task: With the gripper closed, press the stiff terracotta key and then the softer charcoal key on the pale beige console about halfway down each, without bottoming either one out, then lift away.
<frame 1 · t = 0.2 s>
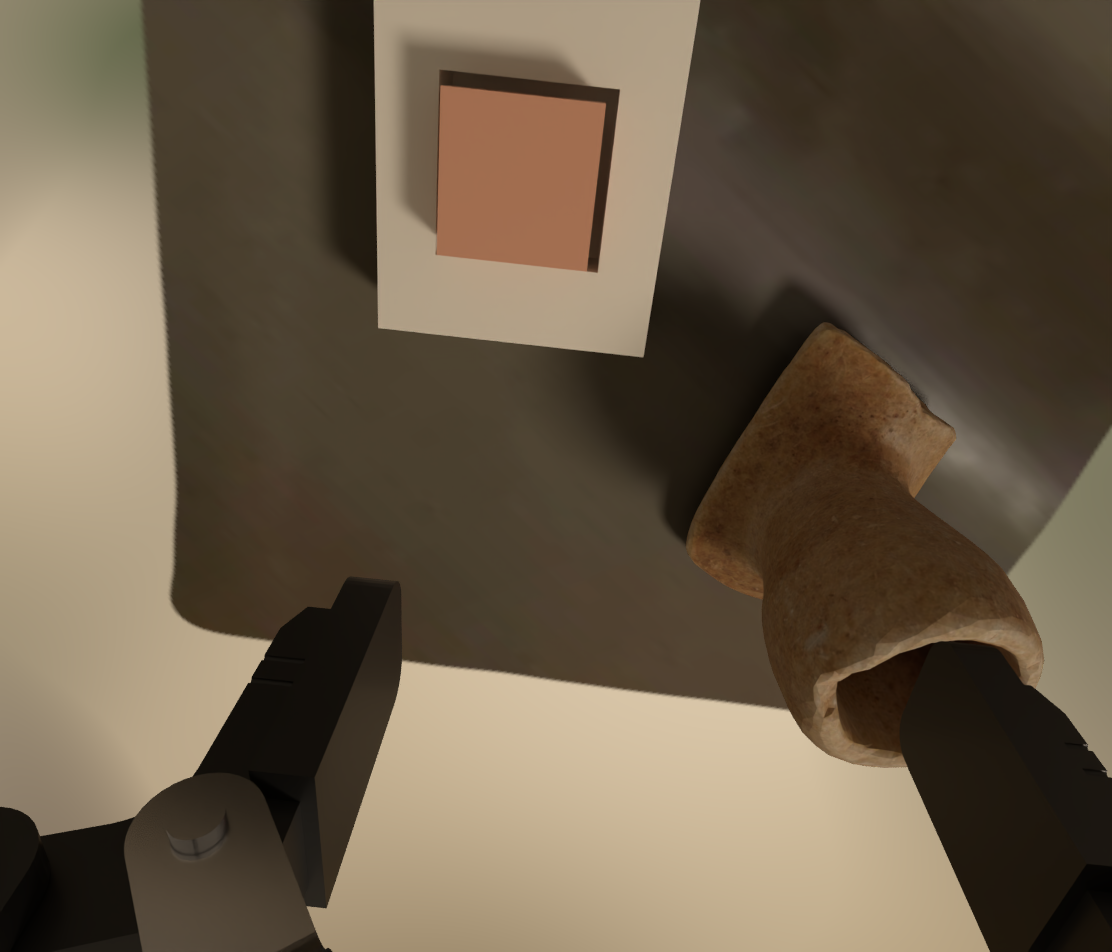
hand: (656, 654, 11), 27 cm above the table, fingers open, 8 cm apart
terracotta key: (520, 178, 30), point 5 cm above the table, slide at 0.0 cm
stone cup: (820, 477, 41), on the table
key console: (542, 12, 31), on the table
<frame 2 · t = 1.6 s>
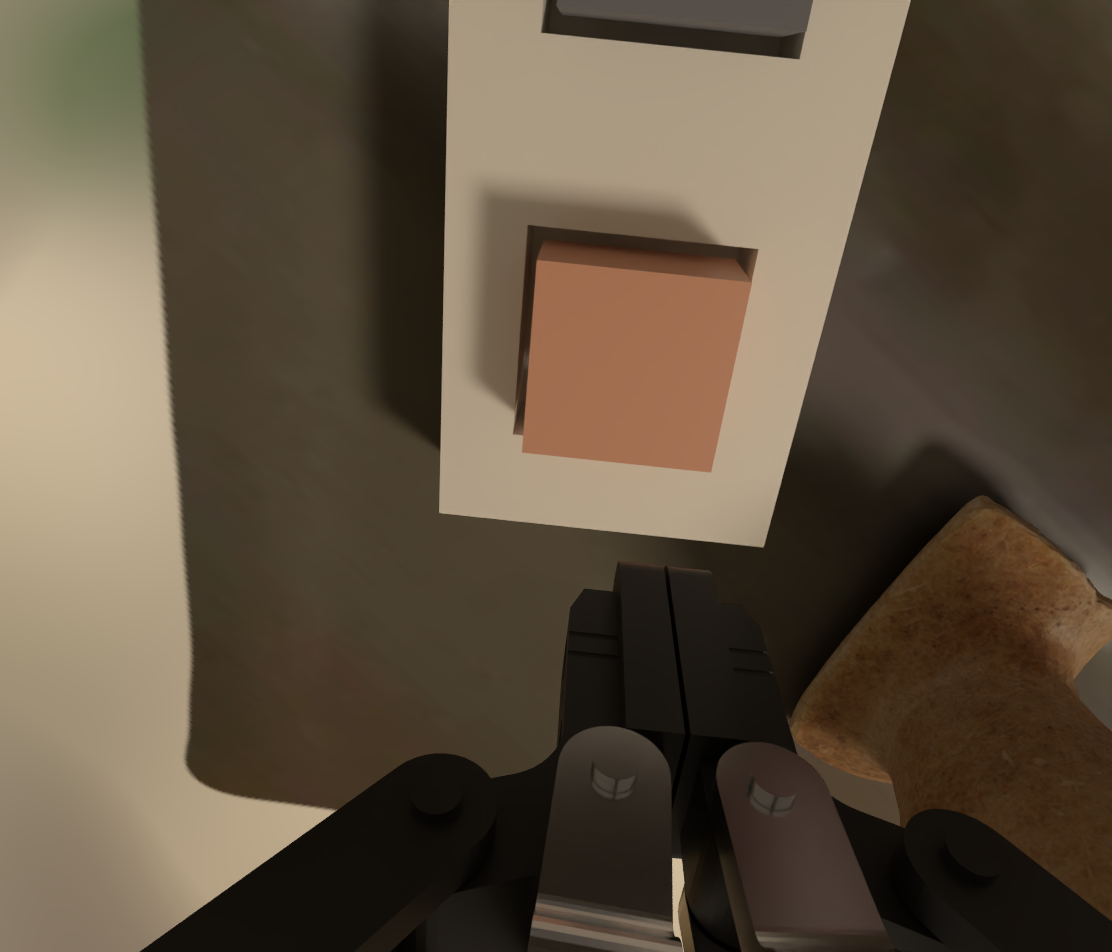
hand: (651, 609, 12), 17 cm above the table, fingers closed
terracotta key: (627, 356, 23), point 5 cm above the table, slide at 0.0 cm
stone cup: (949, 646, 34), on the table
key console: (648, 136, 25), on the table
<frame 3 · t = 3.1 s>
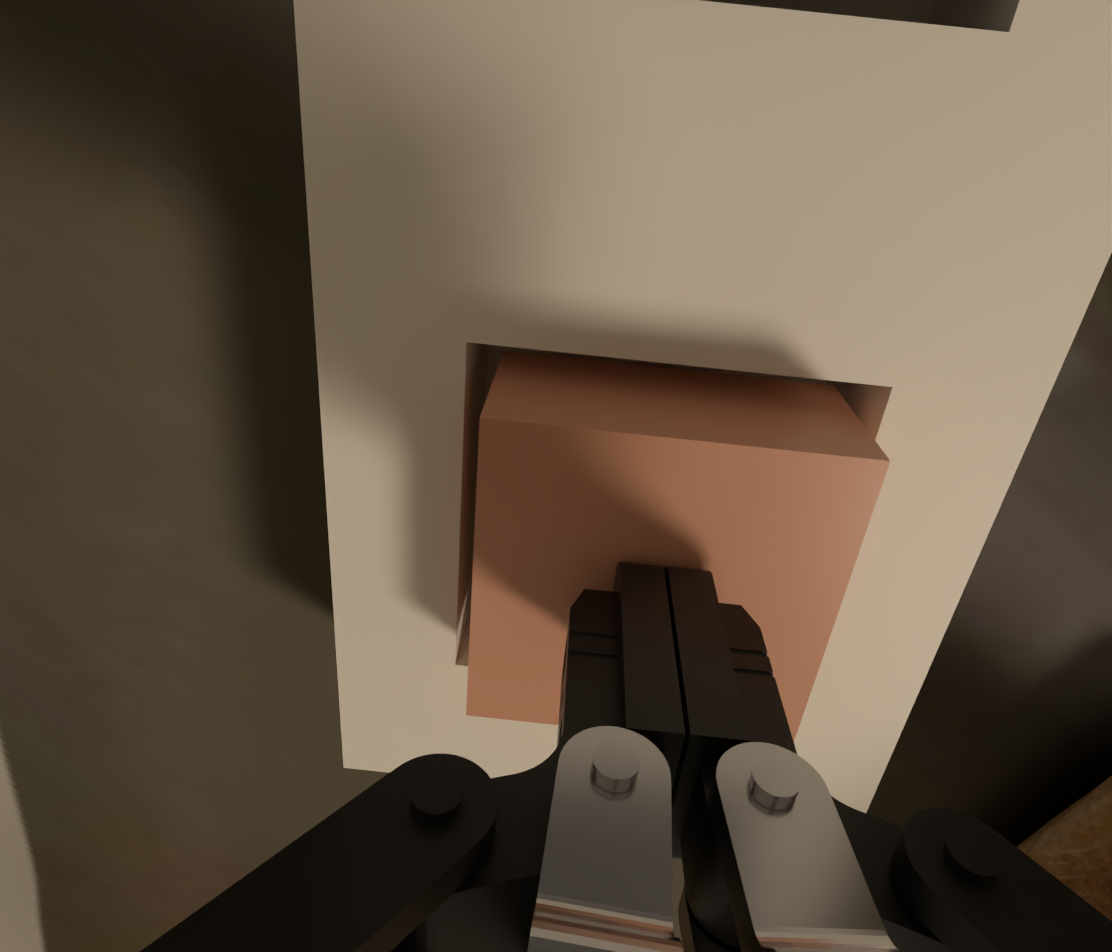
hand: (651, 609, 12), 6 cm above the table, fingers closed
terracotta key: (648, 551, 14), point 4 cm above the table, slide at 0.5 cm, touching gripper
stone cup: (1097, 884, 24), on the table
key console: (682, 173, 15), on the table
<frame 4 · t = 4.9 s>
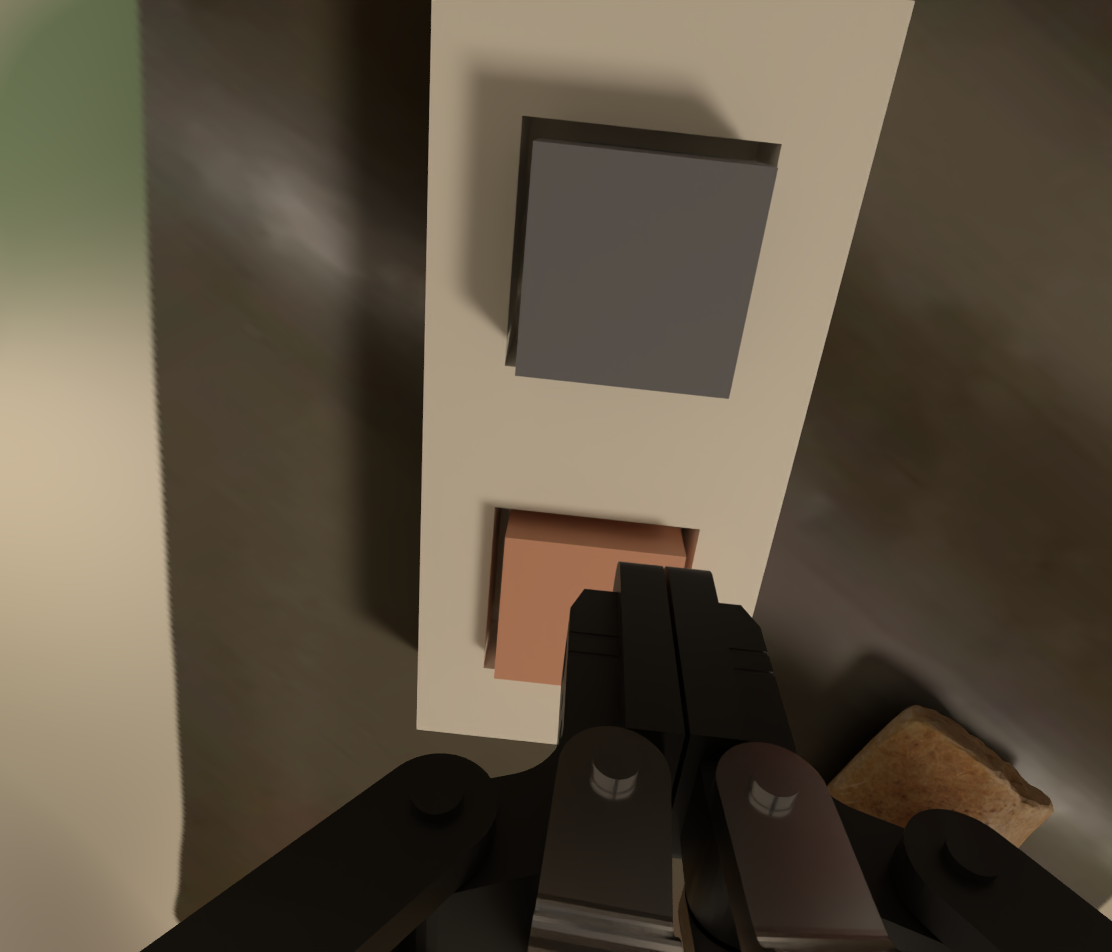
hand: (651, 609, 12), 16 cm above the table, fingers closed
terracotta key: (585, 595, 27), point 4 cm above the table, slide at 1.2 cm
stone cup: (895, 819, 37), on the table
charcoal key: (634, 268, 21), point 5 cm above the table, slide at 0.0 cm
key console: (605, 407, 28), on the table
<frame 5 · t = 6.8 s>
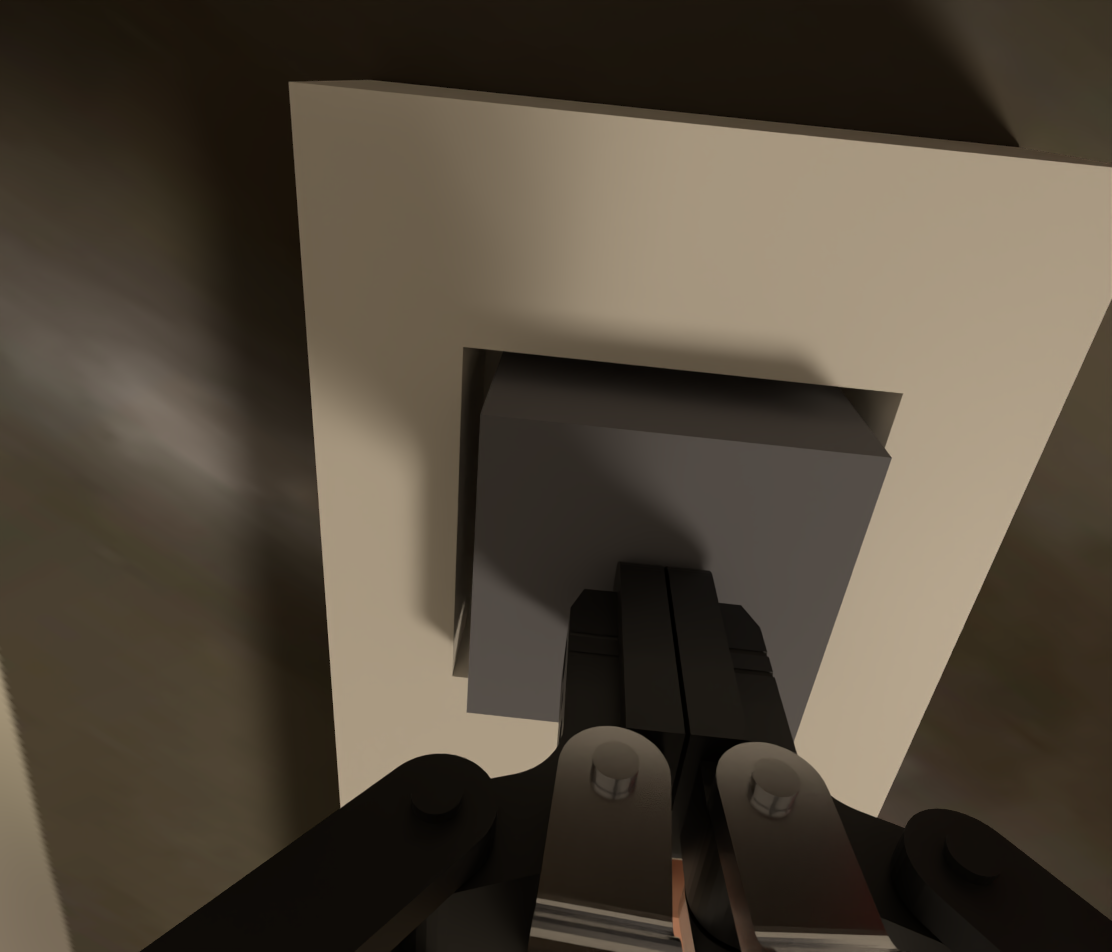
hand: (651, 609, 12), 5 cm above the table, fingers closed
terracotta key: (579, 920, 20), point 4 cm above the table, slide at 1.2 cm
charcoal key: (649, 549, 14), point 4 cm above the table, slide at 0.9 cm, touching gripper
key console: (607, 653, 20), on the table
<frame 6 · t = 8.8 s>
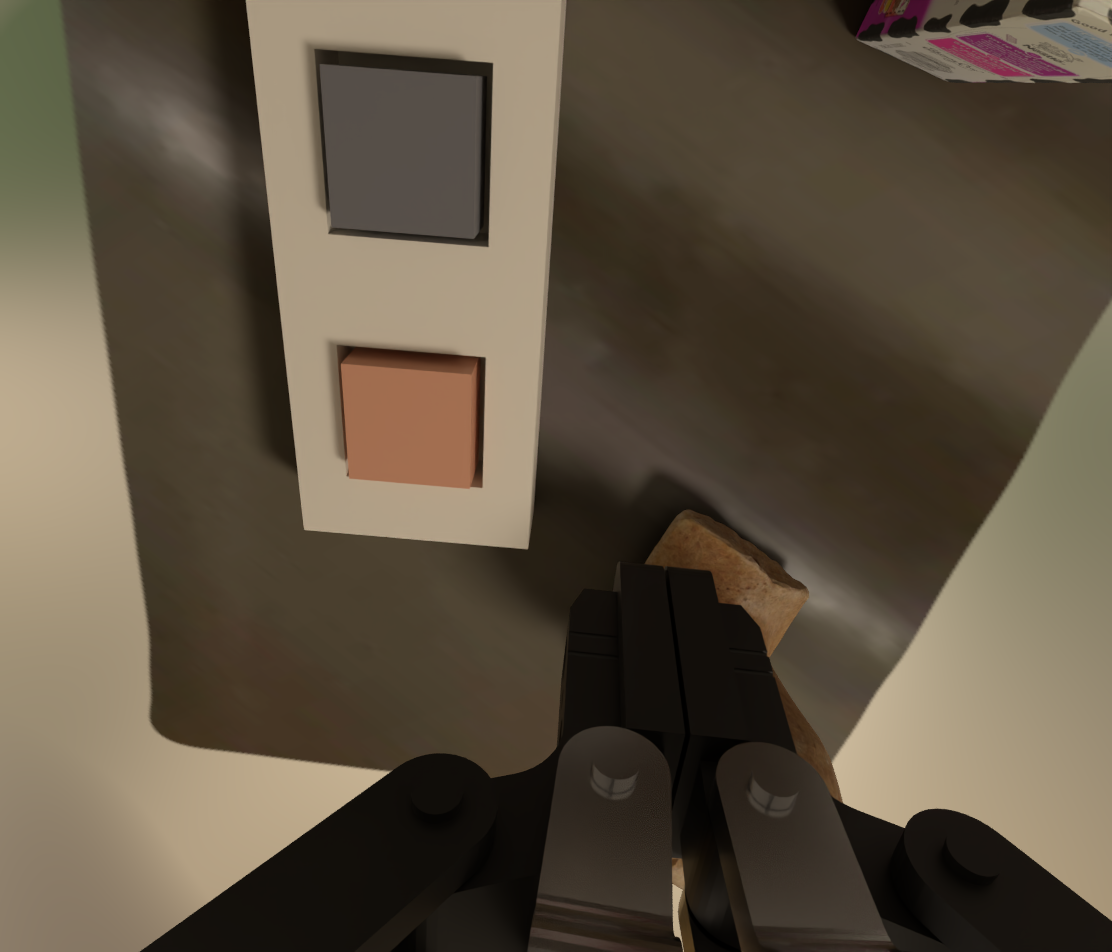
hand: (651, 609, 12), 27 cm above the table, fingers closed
terracotta key: (414, 416, 37), point 4 cm above the table, slide at 1.2 cm
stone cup: (703, 619, 47), on the table
charcoal key: (408, 152, 31), point 4 cm above the table, slide at 1.3 cm
key console: (427, 276, 37), on the table
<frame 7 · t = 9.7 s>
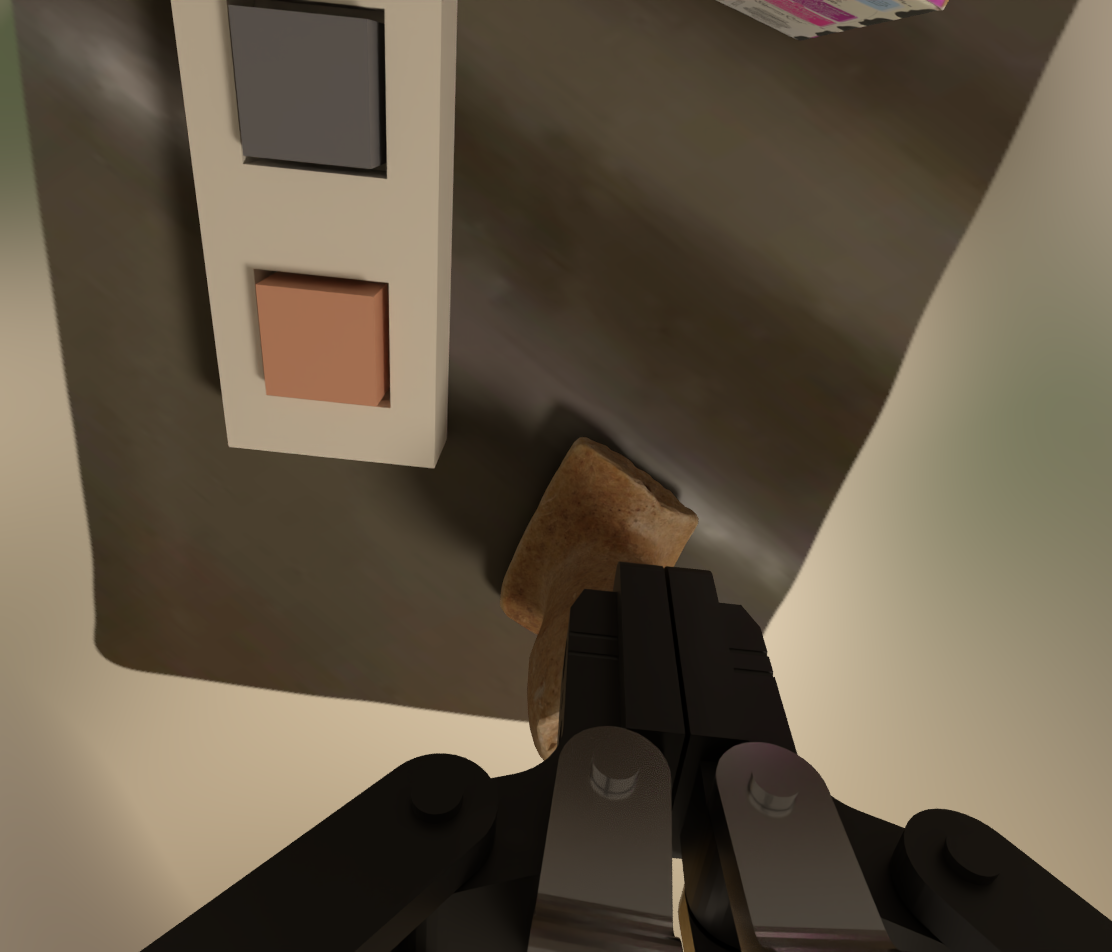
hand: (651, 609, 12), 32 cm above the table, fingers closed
terracotta key: (327, 338, 40), point 4 cm above the table, slide at 1.2 cm
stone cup: (607, 548, 50), on the table
charcoal key: (313, 89, 35), point 4 cm above the table, slide at 1.3 cm
key console: (342, 212, 41), on the table
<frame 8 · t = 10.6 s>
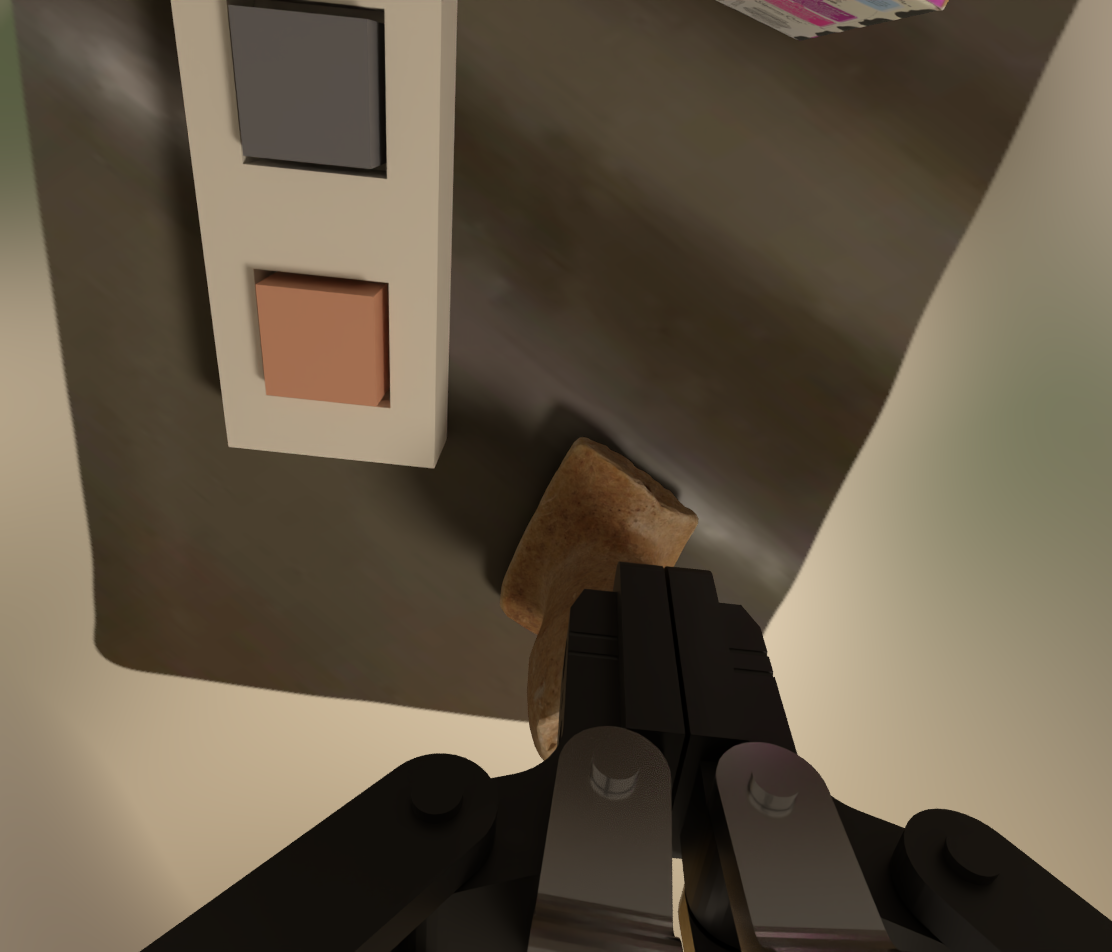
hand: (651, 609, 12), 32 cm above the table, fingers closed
terracotta key: (327, 338, 40), point 4 cm above the table, slide at 1.2 cm
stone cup: (607, 548, 50), on the table
charcoal key: (313, 89, 35), point 4 cm above the table, slide at 1.3 cm
key console: (342, 212, 41), on the table
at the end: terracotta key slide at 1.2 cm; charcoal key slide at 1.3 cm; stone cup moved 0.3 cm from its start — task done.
